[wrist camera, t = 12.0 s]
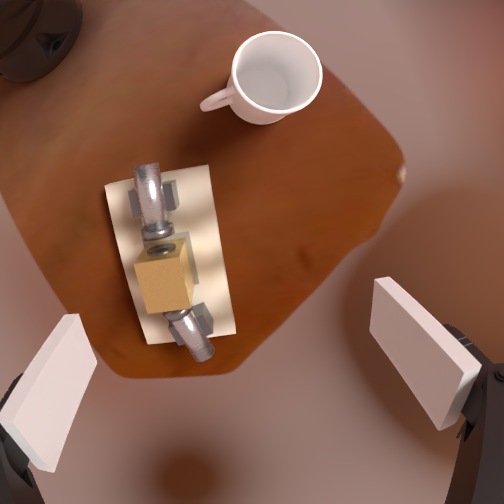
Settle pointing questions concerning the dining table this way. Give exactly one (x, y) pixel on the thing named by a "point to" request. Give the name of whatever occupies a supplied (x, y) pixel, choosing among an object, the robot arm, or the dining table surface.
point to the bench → (186, 225)
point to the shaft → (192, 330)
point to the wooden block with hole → (165, 276)
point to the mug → (269, 78)
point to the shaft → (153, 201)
